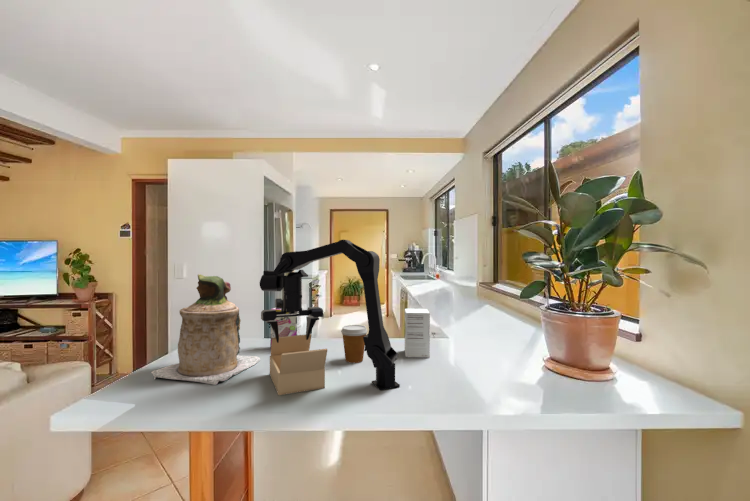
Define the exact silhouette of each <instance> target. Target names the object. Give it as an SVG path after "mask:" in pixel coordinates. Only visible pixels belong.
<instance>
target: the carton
mask: <svg viewBox="0 0 750 501" xmlns="http://www.w3.org/2000/svg"><path fill="white" fill-rule="evenodd" d="M281 357H282V354H281V355H272V356H271V355H269V376H270V378H271V381H272V383H273V386H274V388H275V390H276V393H277V396H284V395H289V394H296V393H301V392H309V391H314V390H315V391H316V390H321V389H325V388H326V386H325V385H326V383H325V382H326V381H325V380H326V377H325V376H326V373H325V372H326V368H325V367H326V366H325V367H324V369H318V370H310V371H303V372H296V373H288V374H281V375H280V366H281Z"/></svg>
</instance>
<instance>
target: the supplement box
mask: <svg viewBox="0 0 750 501" xmlns="http://www.w3.org/2000/svg"><path fill="white" fill-rule="evenodd" d="M430 330H431V312H429V309H428V308H404V355H405V358H426V359H427V358H429V359H430V357H431V353H430V351H431V349H430V348H431V347H430V346H431V342H430V341H431V340H430V339H431V338H430V337H431V334H430Z"/></svg>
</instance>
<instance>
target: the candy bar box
mask: <svg viewBox="0 0 750 501" xmlns="http://www.w3.org/2000/svg"><path fill="white" fill-rule="evenodd" d="M272 309H274V310H276V312H279V311H281V309H276V308H275V307H273V308H272ZM288 313H291V312H288ZM288 313H286V314H288ZM297 314H299V313H297ZM276 321H278V333H279V337H285V336H295V335H301V316H291V317H277V318H276ZM274 337H275V335H274V332H273V329H272V327H271V326H270V341H269V342H270V346H269V347H270V350H271V344H272V338H274Z"/></svg>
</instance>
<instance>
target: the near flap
mask: <svg viewBox="0 0 750 501" xmlns="http://www.w3.org/2000/svg"><path fill="white" fill-rule="evenodd" d="M327 355H328V348H322V349H320V348H319V349H311V350H310V349H309V351H301V352H292V353H283V354H282V357H281V366H280V375H281V374H288V373H296V372H303V371H310V370H318V369H324V367H326V361H327Z"/></svg>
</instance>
